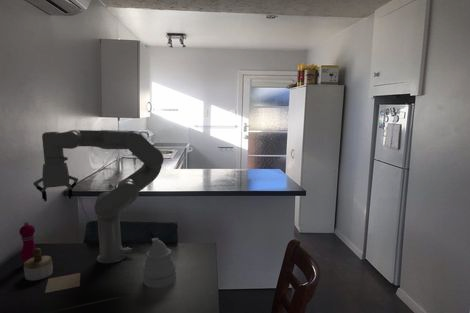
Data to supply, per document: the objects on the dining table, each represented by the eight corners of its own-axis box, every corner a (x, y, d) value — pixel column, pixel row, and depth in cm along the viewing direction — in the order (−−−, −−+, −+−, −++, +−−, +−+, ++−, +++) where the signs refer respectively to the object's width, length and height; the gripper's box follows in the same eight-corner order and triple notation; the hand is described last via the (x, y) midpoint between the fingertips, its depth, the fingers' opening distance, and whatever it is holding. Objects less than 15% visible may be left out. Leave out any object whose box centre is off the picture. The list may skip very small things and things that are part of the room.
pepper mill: (31, 268, 153) (26, 225, 150) (17, 267, 154) (12, 224, 151) (43, 261, 160) (39, 219, 157) (30, 260, 161) (25, 218, 158)
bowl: (53, 268, 152) (52, 256, 152) (51, 278, 143) (50, 265, 142) (27, 272, 148) (26, 260, 148) (23, 283, 139) (22, 270, 139)
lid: (52, 256, 151) (51, 243, 151) (50, 265, 142) (49, 251, 141) (26, 260, 148) (24, 247, 147) (22, 270, 139) (20, 256, 138)
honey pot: (165, 290, 132) (163, 245, 130) (137, 285, 137) (134, 241, 134) (181, 275, 144) (180, 233, 142) (155, 270, 148) (153, 230, 146)
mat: (80, 274, 146) (80, 272, 146) (79, 287, 135) (79, 286, 135) (48, 280, 142) (48, 278, 142) (45, 294, 131) (44, 292, 131)
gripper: (76, 158, 156) (79, 195, 158) (32, 161, 149) (36, 199, 152) (76, 160, 149) (79, 199, 151) (29, 163, 142) (34, 203, 145)
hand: (58, 199), depth 151 cm, fingers open, 9 cm apart
